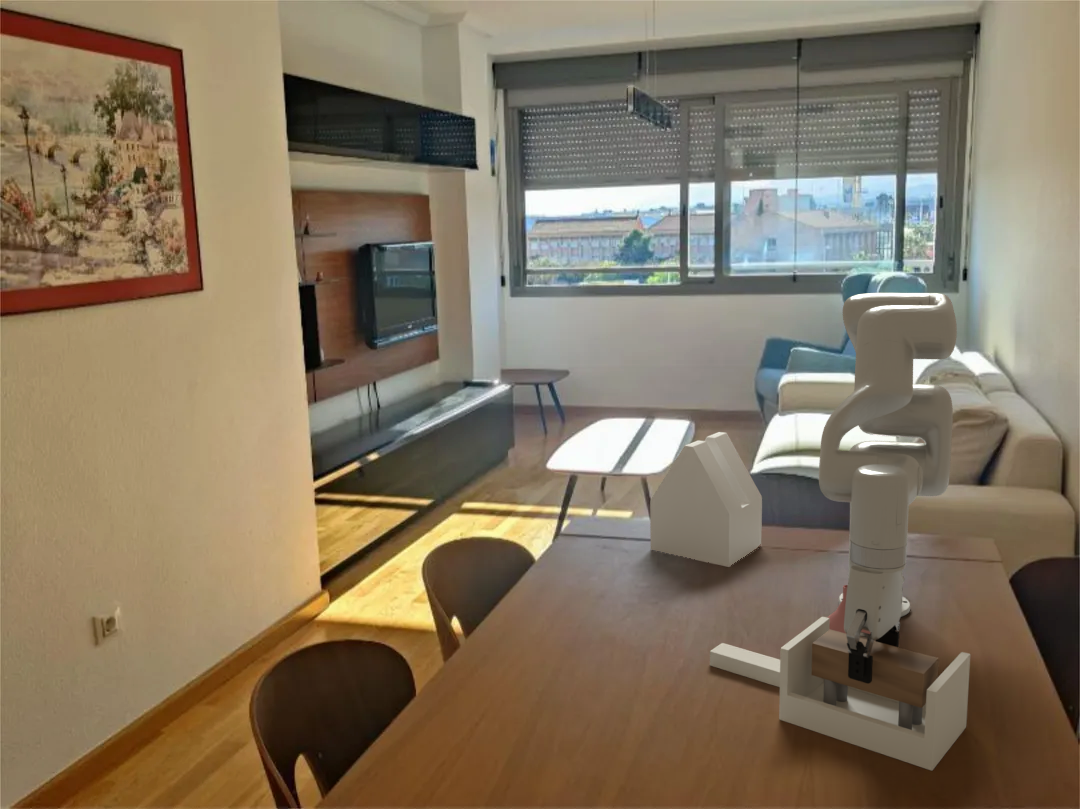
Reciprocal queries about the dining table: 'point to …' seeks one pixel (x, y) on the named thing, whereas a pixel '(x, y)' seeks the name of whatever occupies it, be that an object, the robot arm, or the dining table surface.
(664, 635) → the dining table surface
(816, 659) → the brown wooden block
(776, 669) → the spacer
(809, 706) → the stand
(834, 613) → the pink vase
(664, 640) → the dining table surface
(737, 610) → the dining table surface
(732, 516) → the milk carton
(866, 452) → the robot arm
